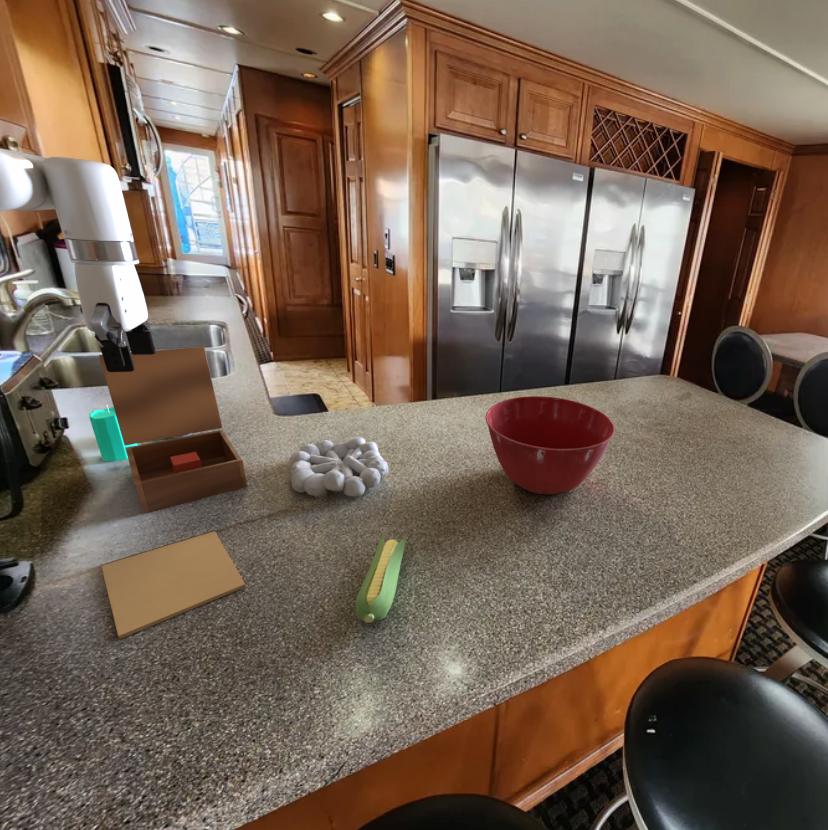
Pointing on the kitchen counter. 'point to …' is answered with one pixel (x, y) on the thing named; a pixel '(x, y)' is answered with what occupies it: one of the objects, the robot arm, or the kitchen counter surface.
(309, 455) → the campfire
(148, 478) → the open wooden box
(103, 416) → the candle
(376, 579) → the edible corn
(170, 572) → the mat
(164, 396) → the lid
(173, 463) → the block
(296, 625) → the kitchen counter surface
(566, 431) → the mixing bowl
